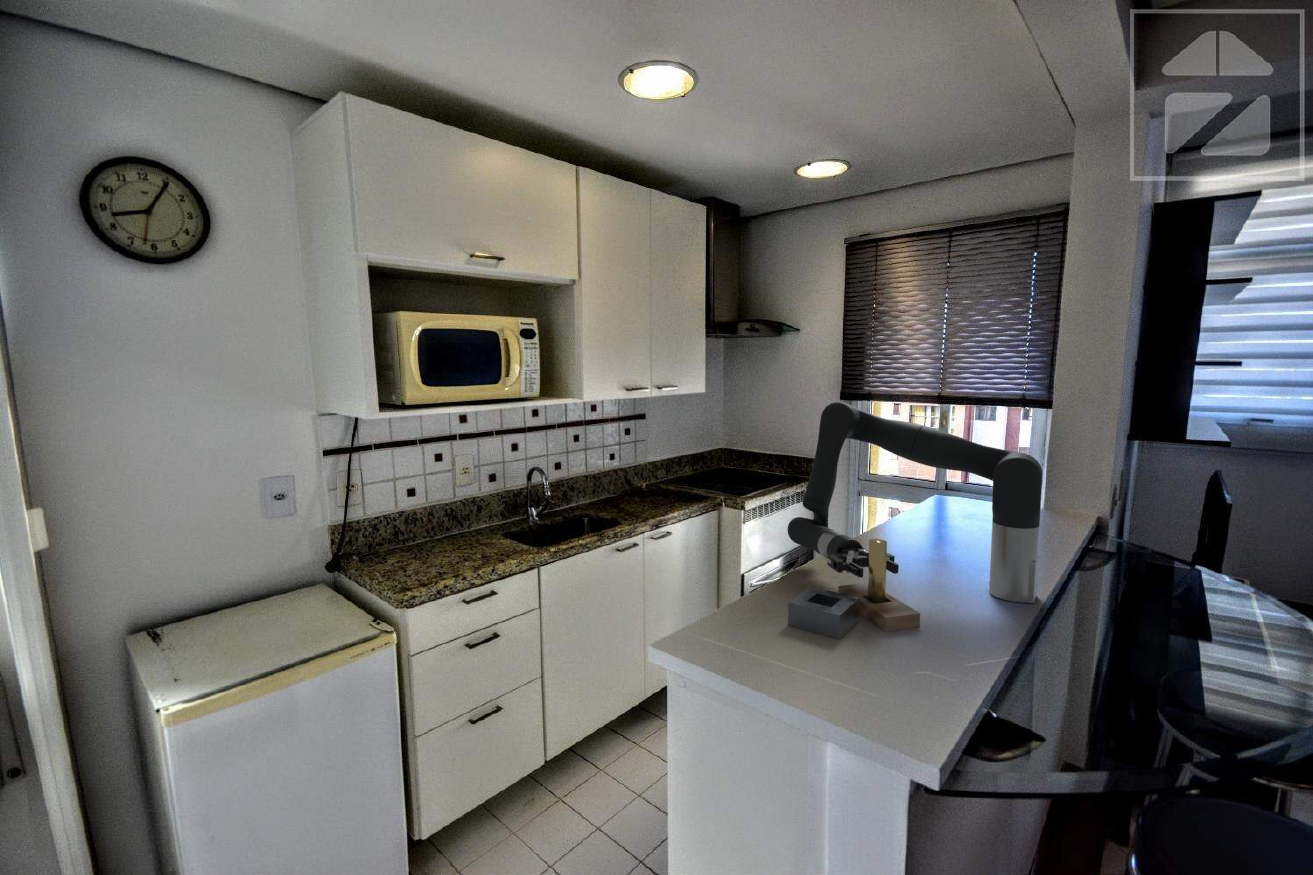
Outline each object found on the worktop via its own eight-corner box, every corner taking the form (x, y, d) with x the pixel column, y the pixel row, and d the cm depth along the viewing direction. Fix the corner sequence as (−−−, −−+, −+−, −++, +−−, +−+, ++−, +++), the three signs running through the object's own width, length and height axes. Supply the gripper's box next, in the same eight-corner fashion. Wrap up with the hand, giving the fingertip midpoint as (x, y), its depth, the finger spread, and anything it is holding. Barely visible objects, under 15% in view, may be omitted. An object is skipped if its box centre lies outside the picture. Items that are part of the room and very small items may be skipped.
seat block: (859, 620, 122) (859, 597, 121) (839, 639, 114) (839, 615, 113) (810, 607, 129) (810, 586, 128) (788, 625, 120) (788, 602, 120)
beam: (838, 598, 134) (838, 585, 134) (868, 594, 136) (868, 582, 135) (885, 631, 117) (885, 617, 116) (919, 626, 118) (920, 613, 118)
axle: (887, 611, 126) (889, 540, 125) (882, 616, 124) (883, 544, 122) (870, 607, 129) (872, 537, 127) (865, 612, 126) (866, 541, 124)
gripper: (813, 536, 138) (850, 557, 122) (866, 531, 141) (908, 551, 125) (812, 566, 139) (849, 591, 123) (865, 561, 142) (907, 584, 126)
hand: (879, 571), depth 124 cm, fingers open, 8 cm apart
